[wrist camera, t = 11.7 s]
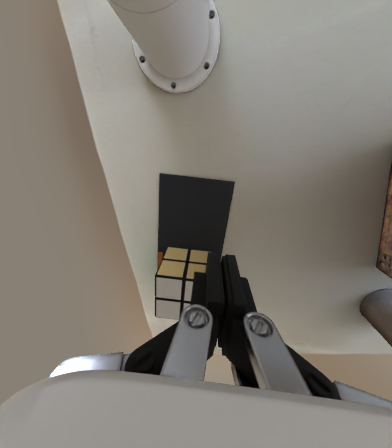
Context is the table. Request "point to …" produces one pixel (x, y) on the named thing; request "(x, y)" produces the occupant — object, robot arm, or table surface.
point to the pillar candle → (379, 312)
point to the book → (386, 236)
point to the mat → (193, 213)
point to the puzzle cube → (176, 280)
